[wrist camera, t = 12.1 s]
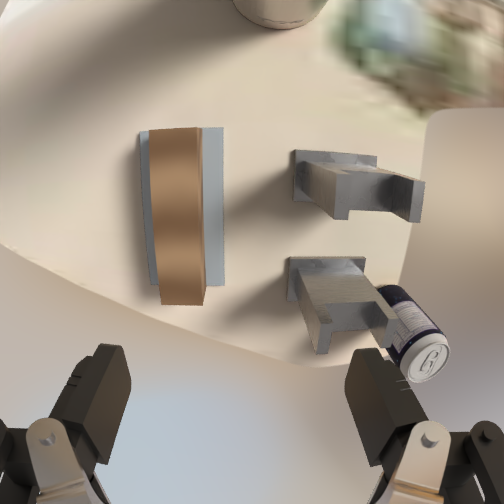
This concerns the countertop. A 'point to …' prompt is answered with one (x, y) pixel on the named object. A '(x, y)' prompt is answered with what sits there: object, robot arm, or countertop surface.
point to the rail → (178, 214)
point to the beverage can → (415, 338)
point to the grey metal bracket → (354, 185)
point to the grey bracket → (338, 299)
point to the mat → (211, 205)
